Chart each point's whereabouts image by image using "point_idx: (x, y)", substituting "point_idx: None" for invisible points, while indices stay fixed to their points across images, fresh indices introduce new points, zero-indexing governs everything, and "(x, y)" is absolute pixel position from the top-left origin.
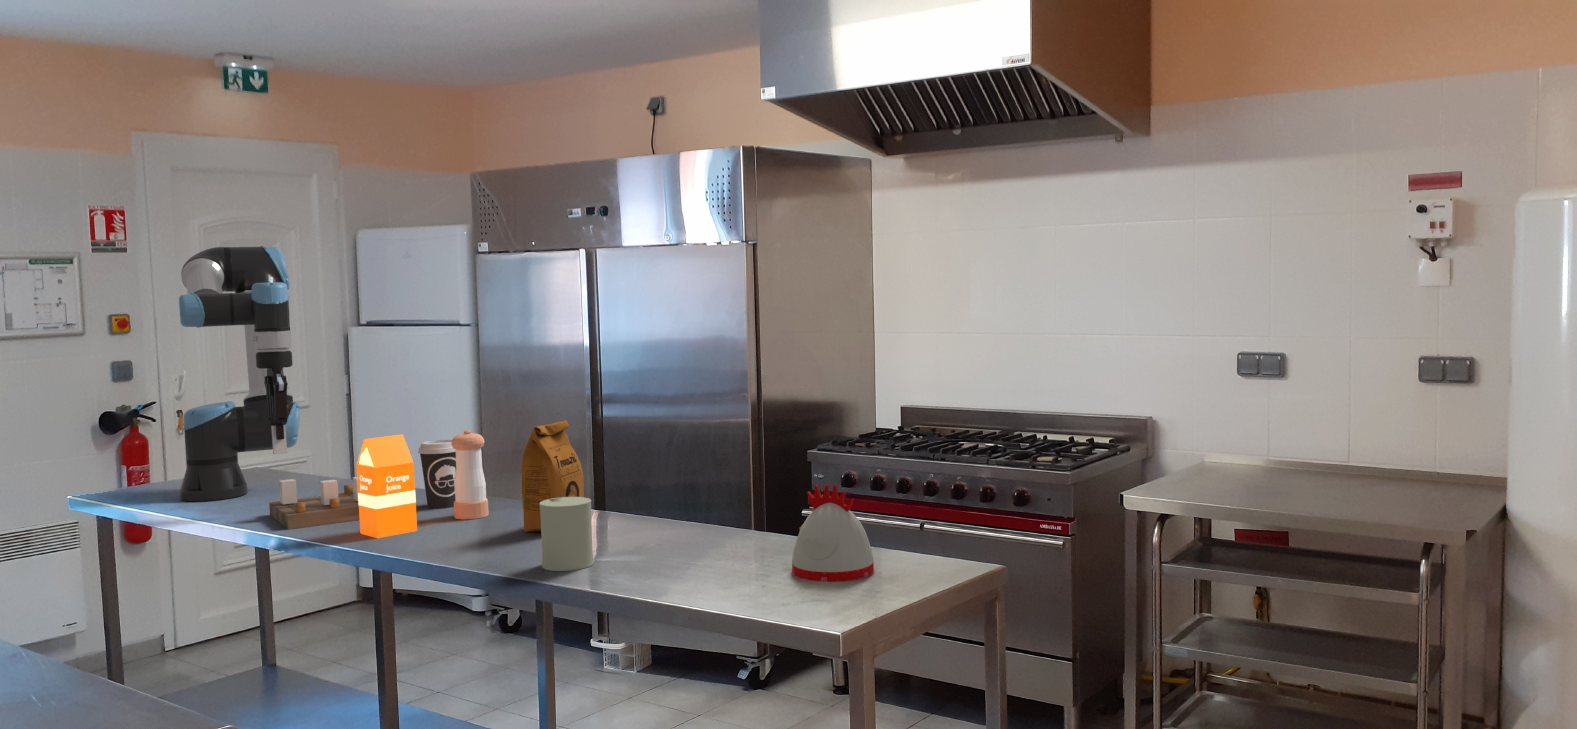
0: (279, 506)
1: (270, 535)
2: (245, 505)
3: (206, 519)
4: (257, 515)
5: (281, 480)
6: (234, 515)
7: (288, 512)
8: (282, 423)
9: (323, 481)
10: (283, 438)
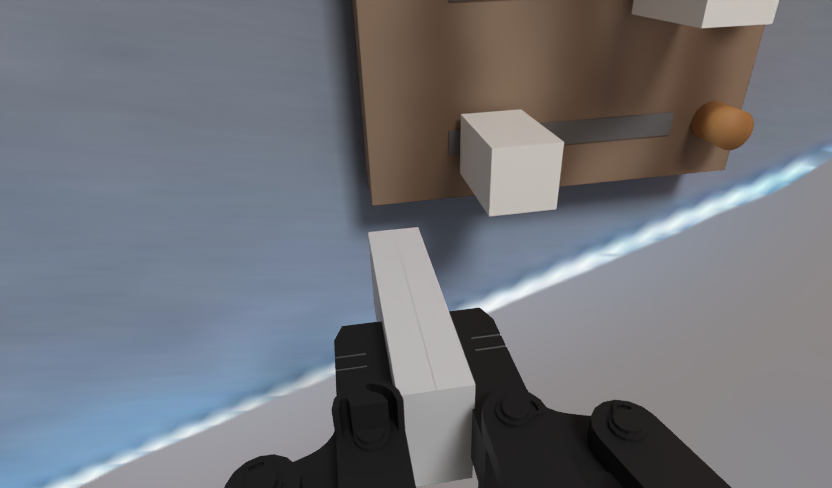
0: None
1: (727, 207)
2: (33, 252)
3: (297, 361)
4: (331, 222)
5: (496, 205)
6: (274, 290)
7: (668, 160)
8: (578, 427)
9: (731, 12)
10: (481, 315)
